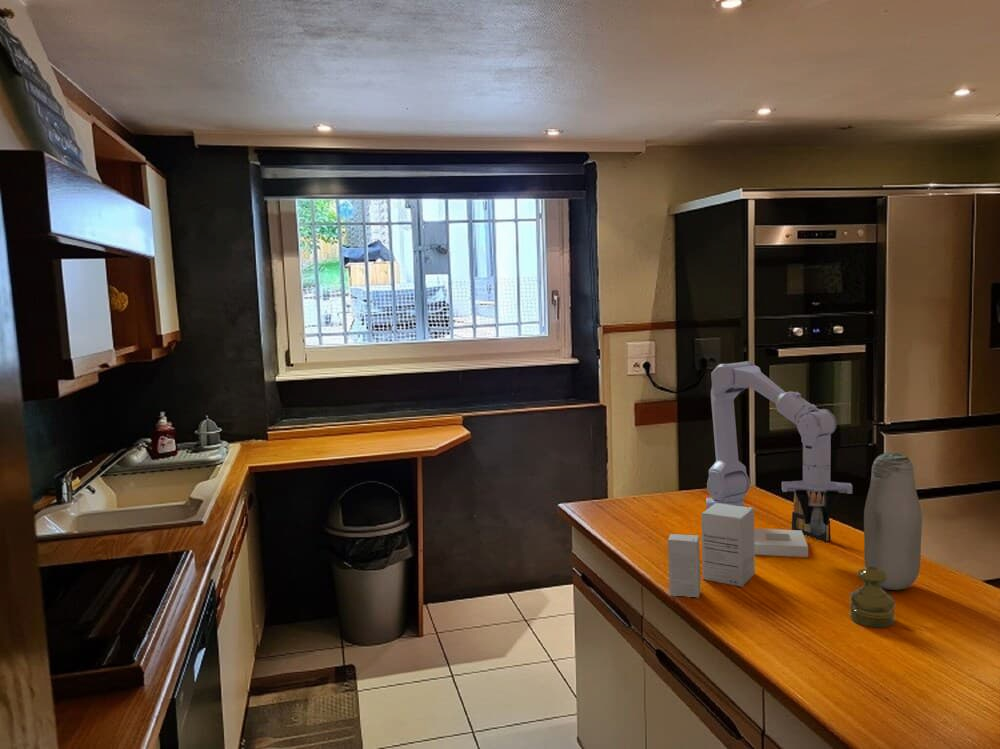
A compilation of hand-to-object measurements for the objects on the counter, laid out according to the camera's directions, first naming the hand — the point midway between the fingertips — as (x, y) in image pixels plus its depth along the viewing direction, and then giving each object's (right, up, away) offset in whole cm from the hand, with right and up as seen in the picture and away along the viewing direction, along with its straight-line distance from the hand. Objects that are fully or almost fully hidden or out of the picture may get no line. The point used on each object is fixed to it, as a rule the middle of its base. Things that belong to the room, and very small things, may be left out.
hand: (816, 523), depth 170 cm
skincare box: (-33, -12, -14) cm, 38 cm away
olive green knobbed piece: (-2, -12, -30) cm, 32 cm away
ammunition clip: (+6, -7, +18) cm, 20 cm away
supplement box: (-22, -11, -6) cm, 25 cm away
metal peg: (0, -2, 0) cm, 2 cm away
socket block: (-5, -8, +11) cm, 14 cm away
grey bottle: (+9, -10, -15) cm, 21 cm away
